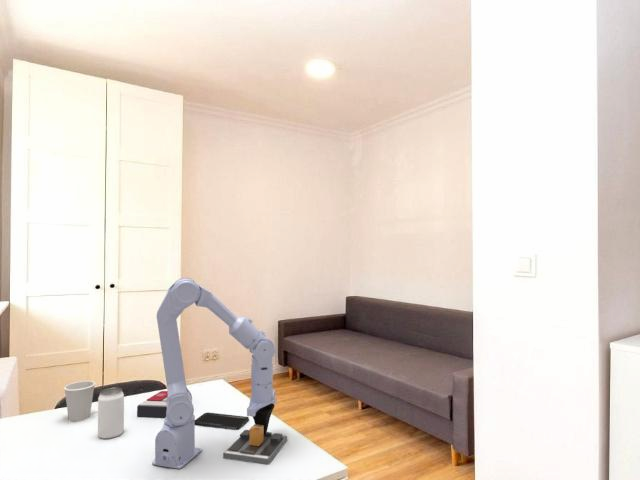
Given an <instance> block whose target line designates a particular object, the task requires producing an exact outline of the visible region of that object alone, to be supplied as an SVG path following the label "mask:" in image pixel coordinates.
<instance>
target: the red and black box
mask: <svg viewBox="0 0 640 480" xmlns="http://www.w3.org/2000/svg"><path fill="white" fill-rule="evenodd" d="M167 396H168V392H167V390H161V391H159V392H157V393H155V394H154V395H152V396H150V397H149V398H147V399H146V400H145V401H142V402H141V403H139V404H137V406H136V417H137V418H144V419H145V418H148V419H165V417H166V411H167V403H166V400H167Z"/></svg>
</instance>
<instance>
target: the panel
mask: <svg viewBox="0 0 640 480" xmlns="http://www.w3.org/2000/svg"><path fill="white" fill-rule="evenodd" d="M287 441H288V435H286V434H282V433H277V432H276V433H275V432H274V433H273V432H271V431H267V433H266V434H265V435H264V441H263V442H262V443H261V444H260V446H254V445H250V429H244V430H243V431H242V432H241V433H240V435H239V437H238V438H237V439H236V440H235V441H234V442H233V443H232V444H231V445H230V446H229V447H228V448H227V449H226V450H225V451H224V452H223V453H222V454H223V455H222V458H223V459H228V460H234V461H240V462H241V461H242V462H250V463H256V464H261V465H262V464H263V465H270V464H271V462H272V461H273V459H274V458H275V457H276V455H277V454H278V453H279V452H280V450H281V449H282V448H283V446H285V444H286V442H287Z"/></svg>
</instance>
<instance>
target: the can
mask: <svg viewBox="0 0 640 480" xmlns="http://www.w3.org/2000/svg"><path fill="white" fill-rule="evenodd" d="M124 426H125V393H124V391H123V388H121V387H110V388H106V389H102V390H101V391H100V392H99V396H98V398H97V436H98V437H99V438H100V439H103V440H110V439H114V438H117V437H120V436H121V435H122V434H123V433H124V431H125V429H124V428H125V427H124Z"/></svg>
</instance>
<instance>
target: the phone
mask: <svg viewBox="0 0 640 480" xmlns="http://www.w3.org/2000/svg"><path fill="white" fill-rule="evenodd" d="M249 421H250V419H249V416H242V415H234V414H233V415H232V414H226V413H225V414H224V413H218V412H217V413H216V412H204V413H203V414H202V415H200V416H198V417H197V418H195V426H198V427H206V428H214V429H215V428H216V429H222V430H231V431H239V430H241V429H242V428H243V427H244V426H245V425H246V424H247V423H248V422H249Z"/></svg>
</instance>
